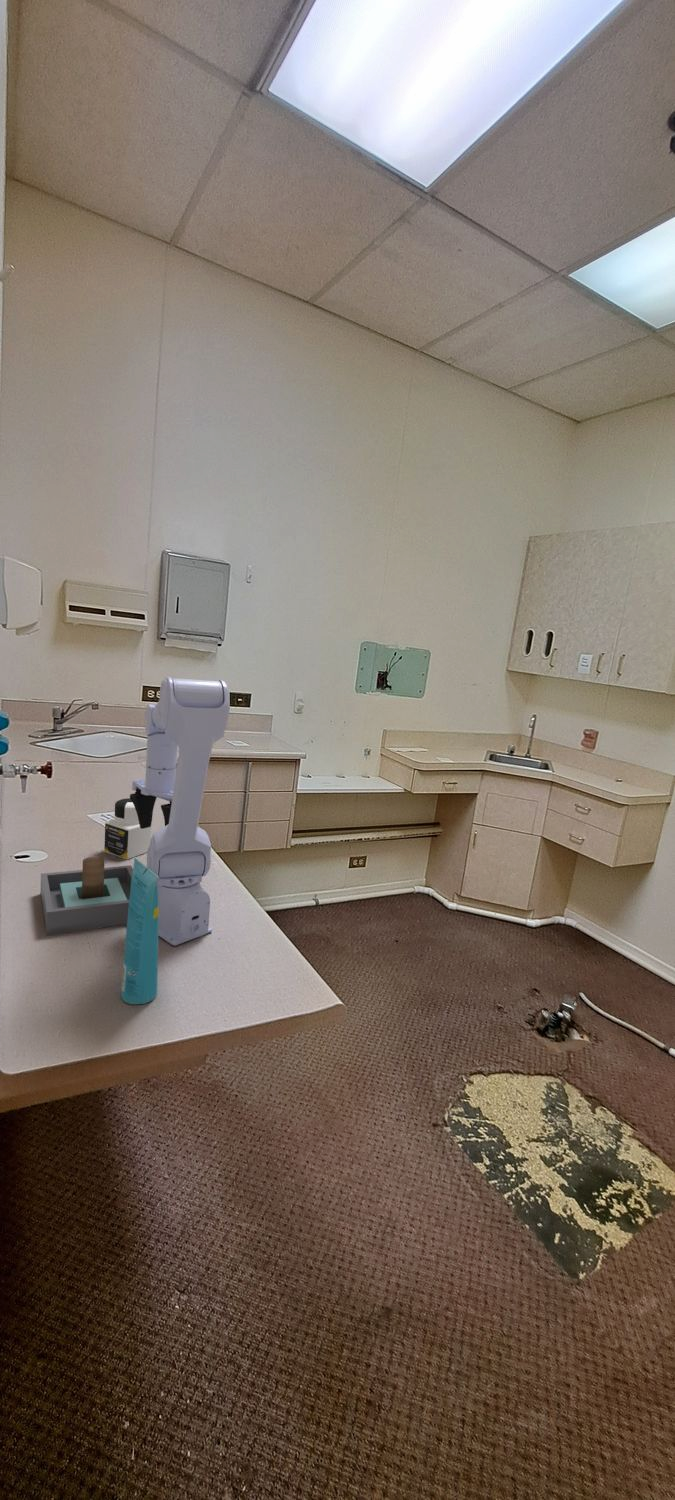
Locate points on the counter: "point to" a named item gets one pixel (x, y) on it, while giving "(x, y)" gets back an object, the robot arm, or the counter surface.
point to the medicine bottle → (126, 832)
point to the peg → (93, 877)
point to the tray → (83, 911)
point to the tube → (141, 938)
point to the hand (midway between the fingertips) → (157, 832)
